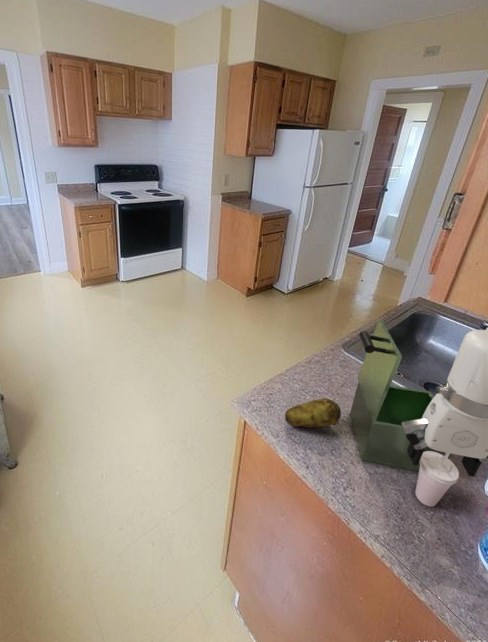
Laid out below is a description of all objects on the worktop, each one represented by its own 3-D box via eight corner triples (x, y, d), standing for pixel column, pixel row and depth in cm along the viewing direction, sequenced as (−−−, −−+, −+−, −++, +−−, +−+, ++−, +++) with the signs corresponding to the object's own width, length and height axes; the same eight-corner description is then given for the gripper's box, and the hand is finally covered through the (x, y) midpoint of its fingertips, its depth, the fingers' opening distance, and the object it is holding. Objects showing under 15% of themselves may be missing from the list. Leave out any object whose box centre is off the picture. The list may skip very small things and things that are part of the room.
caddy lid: (382, 320, 75) (357, 316, 76) (402, 356, 62) (373, 351, 63) (360, 379, 82) (338, 374, 83) (375, 421, 69) (349, 415, 70)
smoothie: (451, 514, 64) (476, 466, 58) (419, 513, 64) (440, 465, 59) (431, 482, 70) (451, 435, 64) (401, 481, 70) (419, 434, 64)
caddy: (417, 426, 83) (430, 391, 79) (441, 476, 71) (458, 438, 66) (349, 414, 86) (358, 380, 82) (361, 460, 74) (372, 422, 70)
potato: (287, 405, 89) (291, 382, 86) (337, 420, 84) (343, 397, 81) (282, 428, 82) (286, 404, 79) (336, 446, 77) (342, 422, 74)
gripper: (424, 404, 55) (397, 472, 61) (543, 424, 51) (501, 493, 58) (408, 374, 61) (386, 438, 68) (512, 390, 58) (478, 456, 65)
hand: (439, 464), depth 63 cm, fingers open, 9 cm apart
